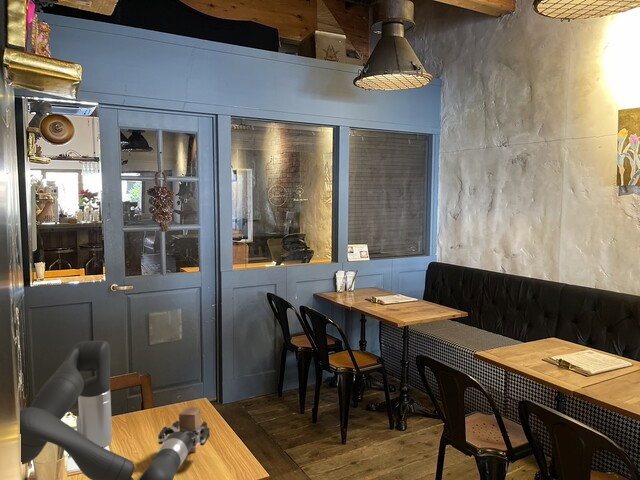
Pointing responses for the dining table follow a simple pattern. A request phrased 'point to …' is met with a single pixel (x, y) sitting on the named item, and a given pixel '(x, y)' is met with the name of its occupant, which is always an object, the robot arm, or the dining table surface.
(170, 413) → the dining table surface
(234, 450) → the dining table surface
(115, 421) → the dining table surface
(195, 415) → the walnut block
